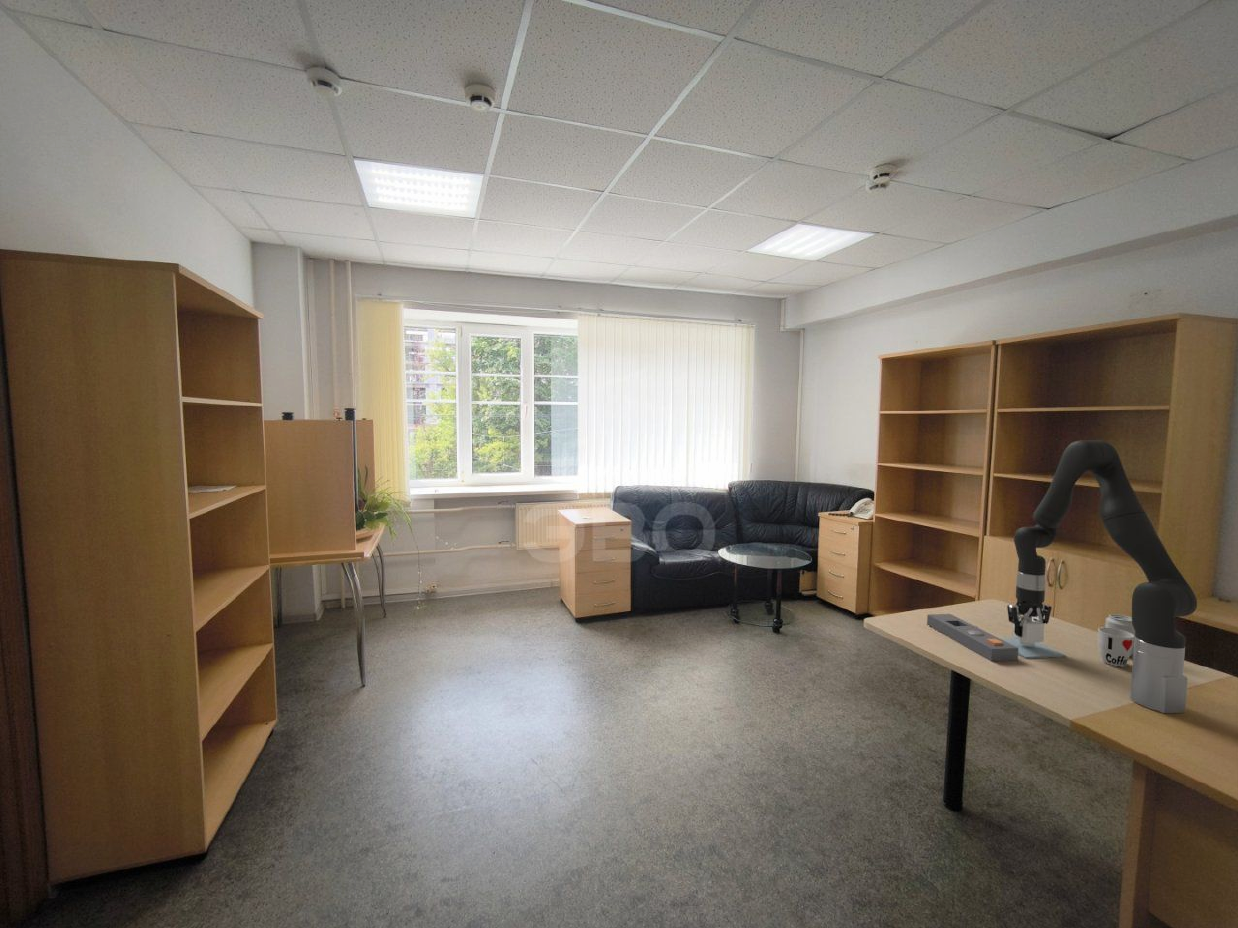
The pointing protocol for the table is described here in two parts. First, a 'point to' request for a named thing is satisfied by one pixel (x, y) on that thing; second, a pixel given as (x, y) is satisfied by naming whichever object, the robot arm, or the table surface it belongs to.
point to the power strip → (973, 637)
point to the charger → (1030, 632)
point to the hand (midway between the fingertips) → (1027, 635)
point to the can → (1121, 625)
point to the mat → (1033, 649)
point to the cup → (1115, 645)
